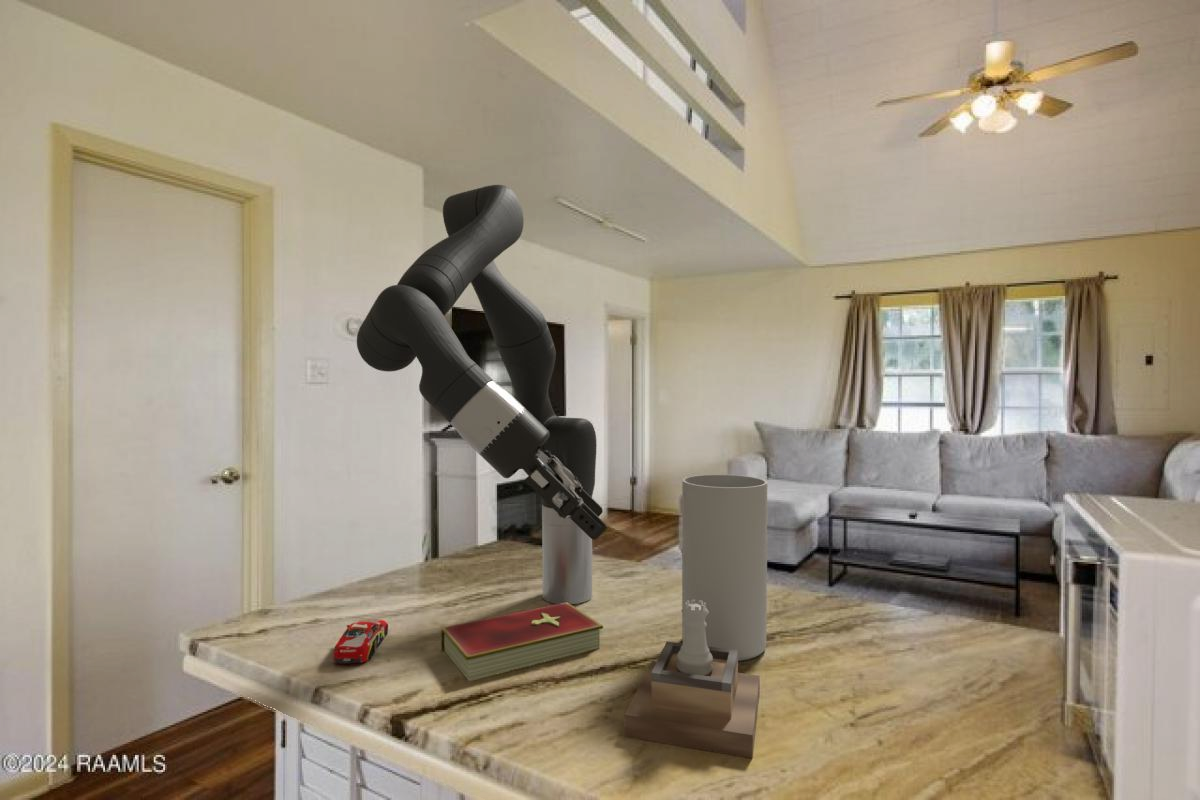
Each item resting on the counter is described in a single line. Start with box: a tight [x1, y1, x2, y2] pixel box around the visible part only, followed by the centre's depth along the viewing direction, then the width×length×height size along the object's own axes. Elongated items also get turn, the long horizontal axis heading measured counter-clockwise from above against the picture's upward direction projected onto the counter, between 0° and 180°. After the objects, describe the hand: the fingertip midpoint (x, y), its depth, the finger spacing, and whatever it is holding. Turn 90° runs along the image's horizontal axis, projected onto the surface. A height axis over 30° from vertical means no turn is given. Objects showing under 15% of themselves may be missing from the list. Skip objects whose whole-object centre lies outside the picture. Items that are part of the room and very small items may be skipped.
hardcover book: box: [440, 602, 604, 682], centre depth 93 cm, size 12×21×4 cm, turn 120°
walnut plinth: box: [624, 640, 761, 759], centre depth 75 cm, size 14×14×6 cm
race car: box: [332, 618, 389, 665], centre depth 94 cm, size 13×5×4 cm, turn 3°
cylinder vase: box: [681, 474, 768, 662], centre depth 94 cm, size 12×12×25 cm
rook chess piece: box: [676, 600, 714, 676], centre depth 75 cm, size 4×4×8 cm
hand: (599, 524), depth 74 cm, fingers open, 8 cm apart
